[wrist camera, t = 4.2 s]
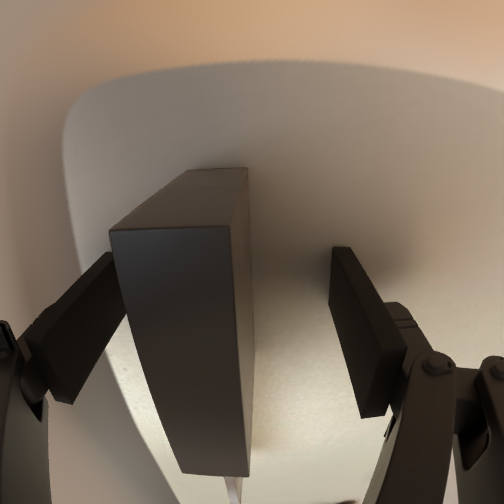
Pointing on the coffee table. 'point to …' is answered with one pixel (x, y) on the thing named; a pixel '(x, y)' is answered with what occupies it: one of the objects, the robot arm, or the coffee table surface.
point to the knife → (195, 316)
